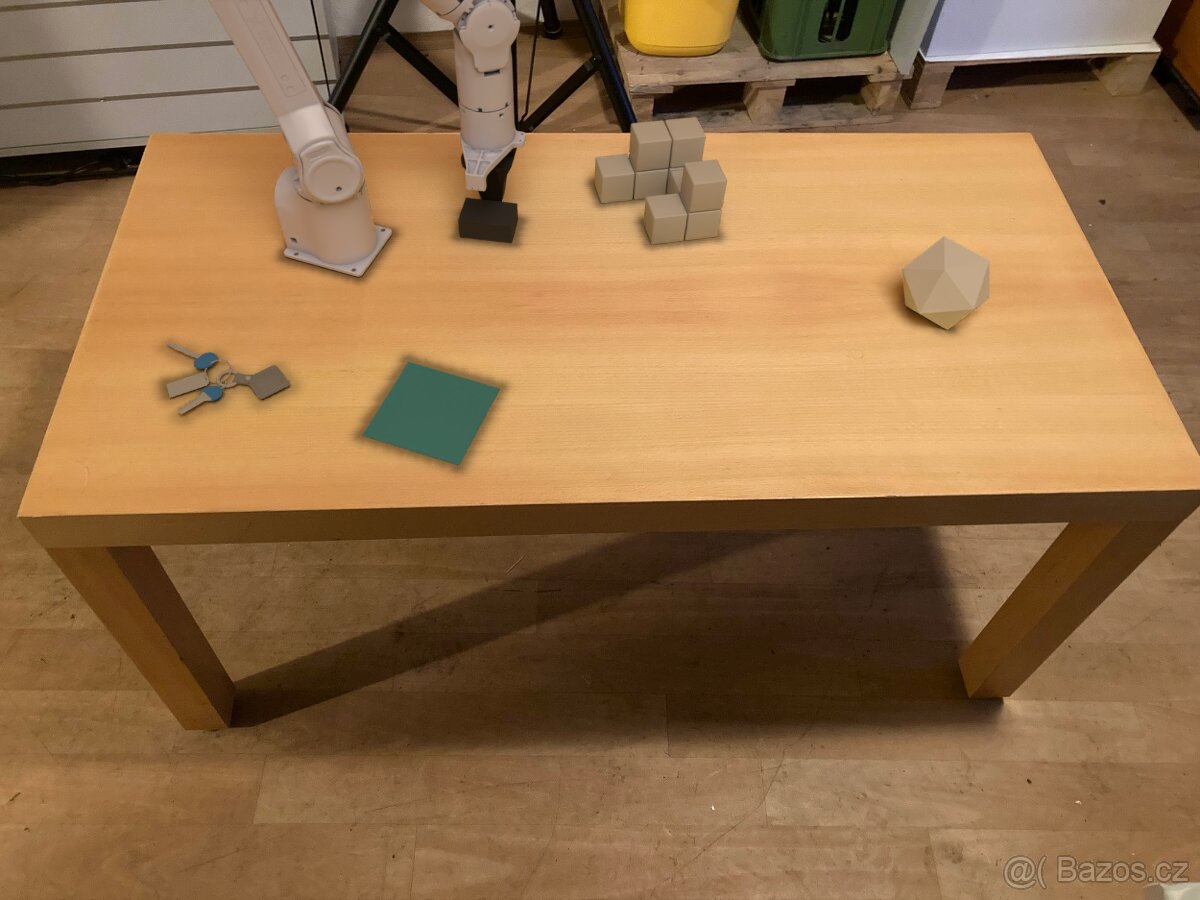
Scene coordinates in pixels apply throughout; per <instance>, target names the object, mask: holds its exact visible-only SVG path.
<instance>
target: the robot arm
mask: <svg viewBox="0 0 1200 900" xmlns="http://www.w3.org/2000/svg"><path fill="white" fill-rule="evenodd" d="M418 1H419V2H420V3H421V4H423V5H424V6H425V7H426V8H428V9H429V10H430V11H431V12H432V13H434V14H435V15H436V16H437V17H438V18H441V19H442V20H445V21H448V22H450V23H452V25H453V26H454V27H453V28H452V35H453V47H454V56H453V57H454V67H455V68H454V69H455V78H456V79H455V80H456V89H457V101H458V111H459V121H460V131H459V141H460V146H461V150H462V153H461V156H460V163H461V167H462V168H463V169H464V170H465V173H464V180H465V189H466V190H470V191H476V192H478V196H479V197H480V198H479V199H483V200H492V201H501V202H503V200H504V198H505V192H506V188H507V187H506V186H507V179H508V175H509V173H510V171H511V169H512V167H513V164H514V160H515V157H516V155H517V154H516V153H517V150H518V149H522V148H524V147H525V144H526V141H527V134H526V132H524V131H519V130H518V129H516V125H515V105H514V104H515V103H514V102H515V101H514V75H513V73H514V72H513V55H512V45H513V43H514V42H515V40H516V38H517V36H518V34H519V31H520V27H521V20H520V19H518V17H517V12H516V11H515V10H516V8H515V6H514V5H513V3H512V2H511V0H418ZM208 2H209V4H210V6H211V7H212V9H213V11H214V12H215V14H216V16H217V17H218V20H219V21H220V23H221V24H222V26H223V28H224V29H225V32H226V33H227V35H228V36H229V38H230V40H231V42H232V44H233V45H234V47H235V48H236V50H237V52H238V54H239V56H240V57H241V59H242V62H244V65H245V66H246V68H247V69H248V71H249V73H250V75H251V76H252V78H253V80H254V82H255V84H256V85H257V87H258V89H259V90H260V92H261V94H262V95H263V97H264V99H265V101H266V103H267V104H268V106H269V108H270V109H271V111H272V113H273V114H274V116H275V118H276V120H277V122H278V124H279V126H280V128H281V132H282V136H283V139H284V140H285V143H286V144H287V146H288V149H289V152H290V155H291V157H292V161H293V164H294V165H292V164H291V165H289V166H286V167H285V168H283V170H282V171H281V172H280V174H279V176H278V178H277V179H276V182H275V186H274V191H273V205H274V209H275V213H276V216H277V219H278V222H279V225H280V229H281V232H282V235H283V238H284V239H283V240H284V242H285V245H286V248H285V249H284V250H283V256H284V257H285V258H289V259H292V260H296V261H300V262H303V263H307V264H310V265H314V266H317V267H320V268H321V267H322V268H324V269H328V270H332V271H336V272H339V273H343V274H345V275H350V276H353V277H362V276H363V275H364V274H365V272H366V271H367V270H368V268H369V267H370V266H371V264H372V263H373V262H374V260H375V258H376V257H377V256H378V254H379V253H380V252H381V250H382V249H383V248H384V246H385V245H386V244H387V242H388V241H389V239H390V238H391V236H393V232H392V231H393V230H392V229H391V228H387V227H384V226H382V225H381V226H380V225H376V224H375V221H374V217H373V211H372V206H371V202H370V197H369V191H368V187H367V182H366V177H365V168H364V166H363V163H362V162H361V160H360V158H359V157H358V155H357V153H356V151H355V148H354V146H353V143H352V141H351V139H350V135H349V134H348V132H347V128H346V126H345V120H344V117H343V115H342V114H341V112H340V111H339V109H337V108H336V107H335V106H334V105H333V104H331V103H329V101H327V100H325V98H324V97H323V96H322V95H321V93H320V91H319V90H318V88H317V85H316V84H315V83H314V82H313V80H312V79H311V77H310V74H309V73H308V70H307V69H306V67H305V65H304V63H303V62H302V60H301V57H300V56H299V54H298V52H297V50H296V48H295V46H294V44H293V42H292V40H291V38H290V36H289V34H288V32H287V30H286V29H285V26H284V24H283V23H282V20H281V19H280V17H279V15H278V13H277V11H276V8H275V7H274V5H273V3H272V1H271V0H208Z"/></svg>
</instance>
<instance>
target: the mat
mask: <svg viewBox="0 0 1200 900" xmlns="http://www.w3.org/2000/svg"><path fill="white" fill-rule="evenodd" d="M500 390H501V388H500V387H498V386H497V387H496V386H493V385H490V384H487V383H483V382H479V381H477V380H473V379H470V378H467V377H463V376H460V375H456V374H452V373H450V372H445V371H443V370H438V369H435V368H431V367H429V366H426V365H425V366H424V365H422V364H417V363H414V362H412V361H407V363H406V365H405V366H404V368H403V369H402V371H401V373H400V374H399V376H398V377H397V379H396V380H395V382H394V384H393V385H392V387H391V389H390V390H389V391H388V394H387V395H386V397H385V398H384V399H383V402H382V403H381V405H379V408H378V410H377V411H376V412H375V414H374V416H373V418H372V419H371V420H370V422H369V424H368V426H367V427H366V428H365V430H364V431H363V433H362V437H365V438H368V439H372V440H375V441H378V442H381V443H383V444H384V443H385V444H387V445H391V446H393V447H397V448H401V449H404V450H406V451H407V450H408V451H410V452H414V453H416V454H420V455H423V456H425V457H426V456H427V457H430V458H433V459H435V460H439V461H443V462H445V463H449V464H452V465H456V466H460V465H461V463H462V462H463V459H464V457H465V455H466V454H467V452H468V450H469V448H470V446H471V445H472V443H473V440H474V439H475V438H476V435H477V433H478V431H479V429H480V427H481V425H482V423H483V422H484V420H485V418H486V416H487V414H488V412H489V411H490V408H491V407H492V405H493V403H494V401H495V400H496V398H497V396H498V393H499V392H500Z"/></svg>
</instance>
